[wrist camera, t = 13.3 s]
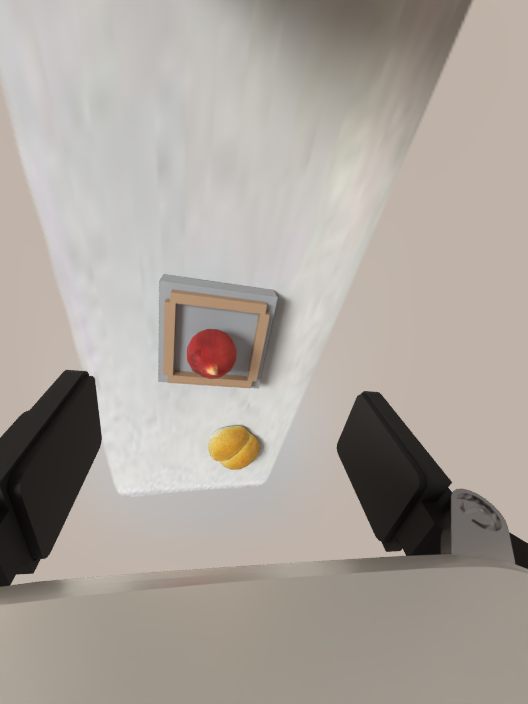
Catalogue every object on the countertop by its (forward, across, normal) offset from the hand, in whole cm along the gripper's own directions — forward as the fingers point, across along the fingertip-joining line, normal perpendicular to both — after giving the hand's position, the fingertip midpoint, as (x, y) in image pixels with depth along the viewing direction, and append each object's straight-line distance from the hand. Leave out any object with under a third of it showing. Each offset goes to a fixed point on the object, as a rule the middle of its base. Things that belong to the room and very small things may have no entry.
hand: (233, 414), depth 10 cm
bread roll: (+29, -6, +31) cm, 43 cm away
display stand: (+28, 0, +10) cm, 30 cm away
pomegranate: (+26, 0, +10) cm, 27 cm away
